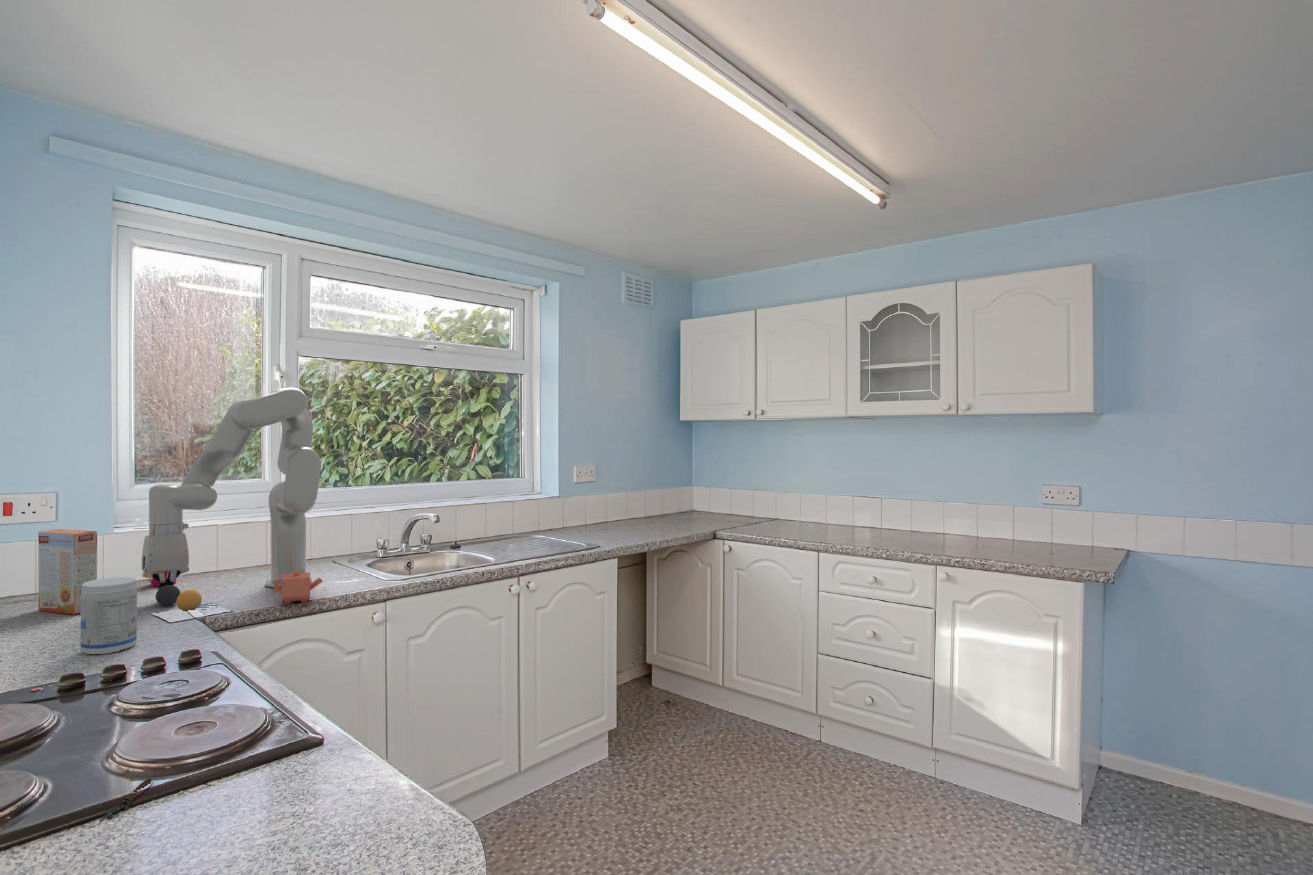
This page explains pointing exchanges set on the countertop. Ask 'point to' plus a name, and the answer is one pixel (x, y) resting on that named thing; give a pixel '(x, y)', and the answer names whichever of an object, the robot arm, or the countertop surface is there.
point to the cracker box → (65, 568)
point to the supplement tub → (108, 615)
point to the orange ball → (189, 600)
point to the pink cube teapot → (295, 587)
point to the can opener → (126, 801)
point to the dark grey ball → (167, 595)
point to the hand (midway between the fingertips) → (166, 596)
